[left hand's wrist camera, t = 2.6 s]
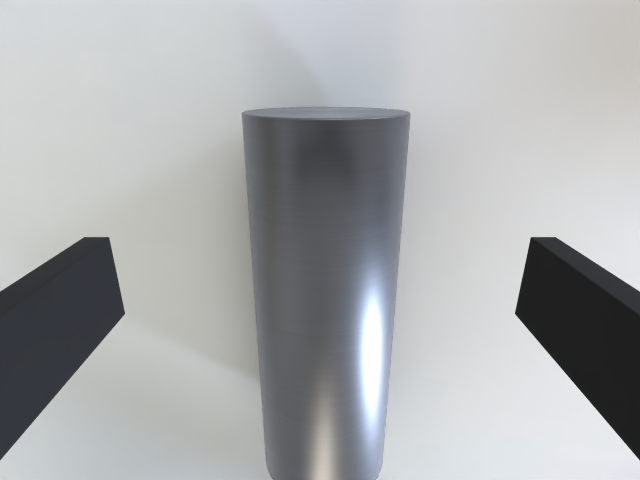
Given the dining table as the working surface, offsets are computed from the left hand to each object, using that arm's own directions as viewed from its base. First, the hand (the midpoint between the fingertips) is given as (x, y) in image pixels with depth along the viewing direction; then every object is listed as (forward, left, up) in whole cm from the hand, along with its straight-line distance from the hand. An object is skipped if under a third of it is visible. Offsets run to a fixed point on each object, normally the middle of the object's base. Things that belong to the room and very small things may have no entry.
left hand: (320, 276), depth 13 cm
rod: (+7, +4, -15) cm, 17 cm away
